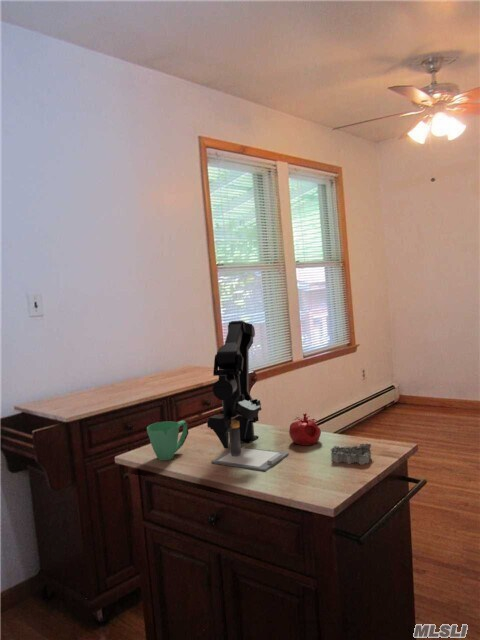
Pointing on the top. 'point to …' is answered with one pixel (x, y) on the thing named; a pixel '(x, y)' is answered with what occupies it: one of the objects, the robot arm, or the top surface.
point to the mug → (166, 438)
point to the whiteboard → (251, 459)
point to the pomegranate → (304, 431)
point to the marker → (235, 438)
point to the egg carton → (351, 454)
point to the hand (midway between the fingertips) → (235, 443)
